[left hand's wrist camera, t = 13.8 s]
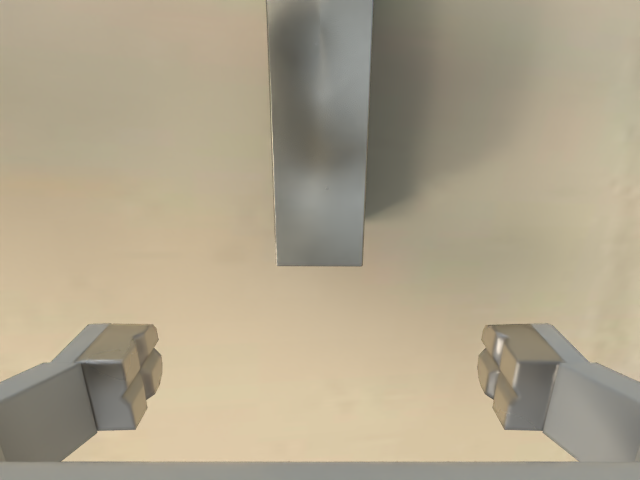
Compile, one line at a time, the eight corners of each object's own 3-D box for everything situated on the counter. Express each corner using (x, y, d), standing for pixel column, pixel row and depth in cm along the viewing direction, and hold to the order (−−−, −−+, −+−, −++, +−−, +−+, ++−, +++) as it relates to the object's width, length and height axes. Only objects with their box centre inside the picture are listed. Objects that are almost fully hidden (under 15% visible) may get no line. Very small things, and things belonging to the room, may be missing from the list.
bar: (352, 224, 33) (362, 267, 25) (286, 224, 33) (275, 266, 25) (366, -209, 24) (389, -356, 16) (275, -210, 24) (252, -356, 16)
